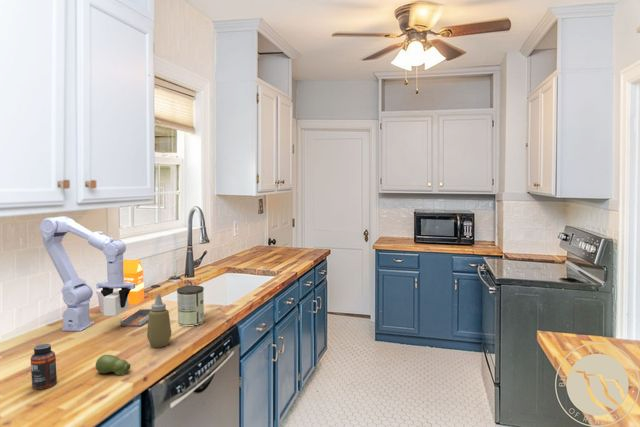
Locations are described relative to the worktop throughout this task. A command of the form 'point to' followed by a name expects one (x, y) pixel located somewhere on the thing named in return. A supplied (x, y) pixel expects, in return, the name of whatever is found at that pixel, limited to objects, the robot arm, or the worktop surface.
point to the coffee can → (190, 305)
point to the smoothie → (100, 300)
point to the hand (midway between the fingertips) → (116, 306)
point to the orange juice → (134, 280)
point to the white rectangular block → (114, 304)
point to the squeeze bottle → (158, 324)
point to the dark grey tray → (136, 318)
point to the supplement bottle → (43, 367)
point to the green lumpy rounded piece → (112, 365)
